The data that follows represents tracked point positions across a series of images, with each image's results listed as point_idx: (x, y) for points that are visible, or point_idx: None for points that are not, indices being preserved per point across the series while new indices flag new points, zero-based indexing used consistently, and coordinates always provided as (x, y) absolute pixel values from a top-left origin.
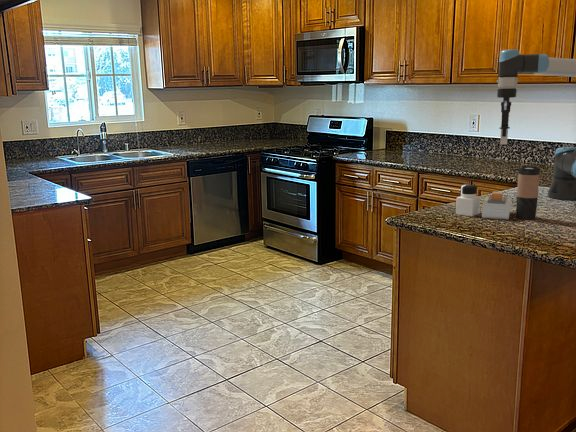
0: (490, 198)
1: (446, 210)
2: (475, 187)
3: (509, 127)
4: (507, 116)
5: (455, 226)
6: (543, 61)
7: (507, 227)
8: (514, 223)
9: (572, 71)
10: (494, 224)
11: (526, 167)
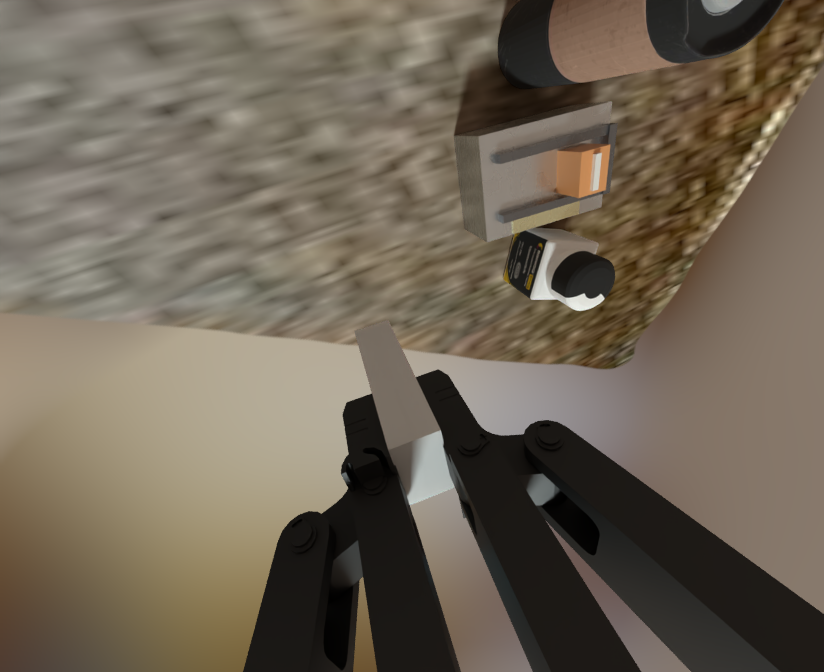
0: (569, 197)
1: (505, 320)
2: (602, 259)
3: (387, 453)
4: (804, 610)
5: (670, 222)
6: None
7: (672, 77)
8: None
9: None
10: (640, 131)
11: (680, 6)
